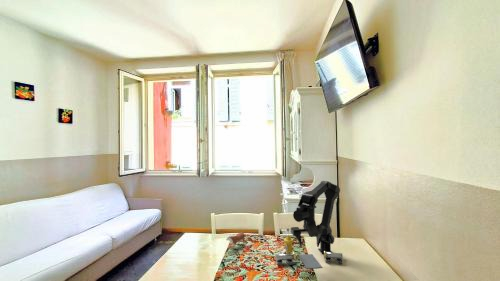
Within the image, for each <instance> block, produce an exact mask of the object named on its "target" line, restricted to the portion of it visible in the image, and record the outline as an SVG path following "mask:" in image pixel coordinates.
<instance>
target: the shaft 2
mask: <svg viewBox="0 0 500 281" xmlns="http://www.w3.org/2000/svg"><path fill="white" fill-rule="evenodd" d="M323 259H325V263H327V264H331V262H332V259H333V260H335V261H336V264H337V265H343V253H340V252H333V251H332V252H326V251H324V254H323Z"/></svg>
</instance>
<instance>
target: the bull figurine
mask: <svg viewBox="0 0 500 281" xmlns="http://www.w3.org/2000/svg"><path fill="white" fill-rule="evenodd" d="M225 240H226V241H228V242H230V243H231V244H232V248H233V249H234V250H235V249H236V246H237V245H240V242H242V245H245V232H244V231H241V232H238V233H236V234H229V235H227V237H226V239H225Z"/></svg>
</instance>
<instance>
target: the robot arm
mask: <svg viewBox="0 0 500 281" xmlns="http://www.w3.org/2000/svg"><path fill="white" fill-rule="evenodd" d="M340 192H341V187H339V185H337V184H334V183H333V182H331V181H327V180H321V181H320V182H319V184H318V185H316V186H315V187H314V188H313V189H311V190H309V191H306V192H303V193H302V194H301V196H300V199H299V202H298V204H297V207H296V210H295V211H293V213H292V217H293V219H294V220H295V221H296V222H297V223H301V222H303V225H302V228H300V227H299V226H292V227H290V233H291V235H292V237H295V238H296V240H297V242H298V244H299V245H298V246H299V247H300V248H301V249H302V246H303V244H302V234H308V236H309V237H310V238H314V237H315V238H316V247H317V248H318V249H317V250H318V251H319V252H320V253H321V255H324V251H326V252H333V250H331V249H332V248H331V247H332V246H331V245H333V244H334V243H335V237H334V235H333V234H332V233H333V230H332V228H331V222H332V216H333V215H332V214H333V212H334V211H333V209H334V207H335V206H334V204H335V201H336V200H337V199H338V198H339V195H340ZM323 194H324V197H325V201H324V205H323V206H324V207H323V212H322V216H321V220H320V223H319V224H317V221H316V220H315V218H316V217H315V216H316V215H315V214H316V213H315V212H316V211H315V210H316V208H317V205H316V204H317V203H318V202H319V200H318V199H319V197H321V196H322V195H323ZM319 246H320V247H319Z"/></svg>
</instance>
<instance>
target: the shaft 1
mask: <svg viewBox="0 0 500 281" xmlns="http://www.w3.org/2000/svg"><path fill="white" fill-rule="evenodd" d="M296 254H297V253H296V252H291V253H290V254H287V253H283V254H282V253H280V254H278V253H276V254H275V262H276V265H277V266H283V261H286V264H287V265H288V266H289V265H294V261H296V260H297V256H296Z"/></svg>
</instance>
